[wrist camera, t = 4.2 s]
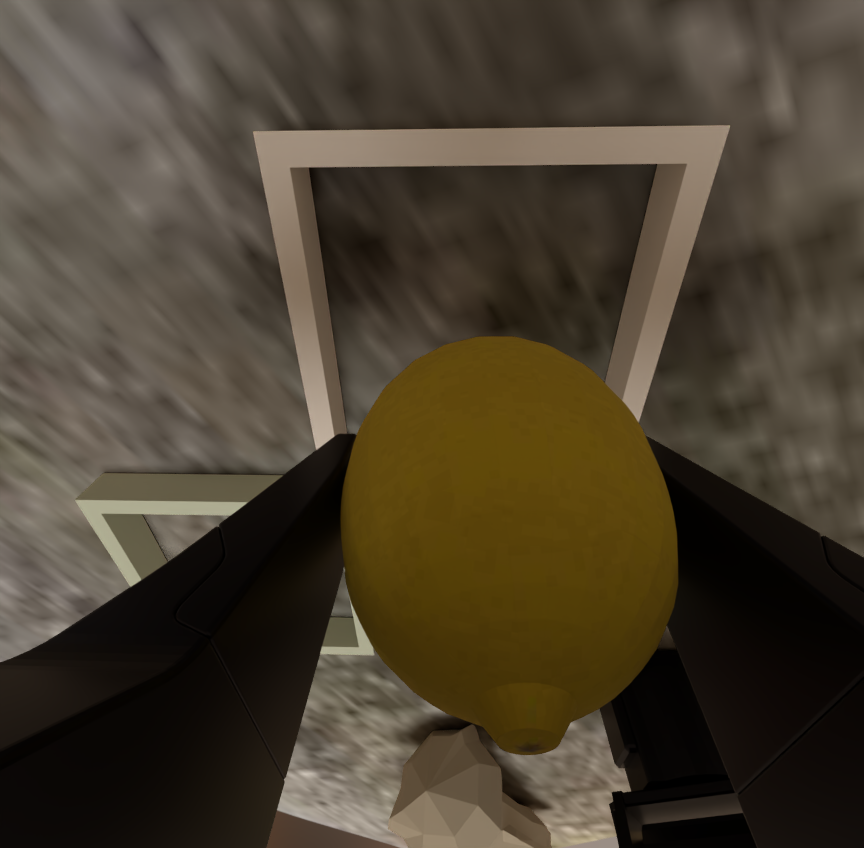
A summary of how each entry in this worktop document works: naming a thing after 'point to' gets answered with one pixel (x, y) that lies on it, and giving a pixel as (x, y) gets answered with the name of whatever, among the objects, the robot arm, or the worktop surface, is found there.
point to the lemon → (508, 538)
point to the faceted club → (460, 799)
